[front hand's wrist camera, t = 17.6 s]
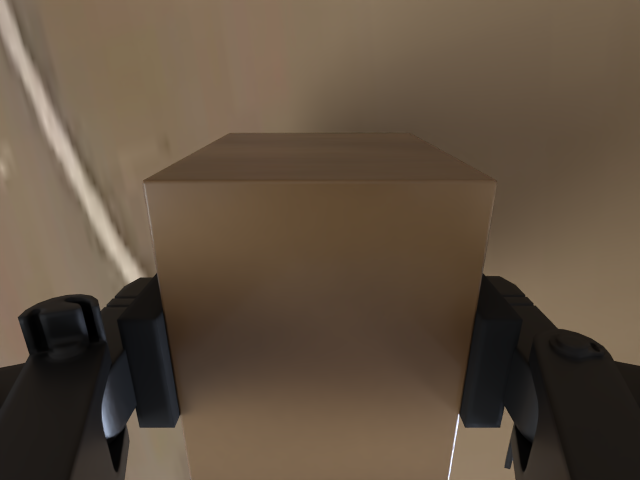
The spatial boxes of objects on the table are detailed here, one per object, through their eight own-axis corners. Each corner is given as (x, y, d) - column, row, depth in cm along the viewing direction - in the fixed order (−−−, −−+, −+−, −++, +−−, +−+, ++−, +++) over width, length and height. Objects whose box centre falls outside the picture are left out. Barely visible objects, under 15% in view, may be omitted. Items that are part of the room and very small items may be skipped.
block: (395, 331, 17) (446, 500, 10) (244, 331, 17) (192, 500, 10) (411, 132, 14) (499, 180, 7) (228, 132, 14) (140, 179, 7)
